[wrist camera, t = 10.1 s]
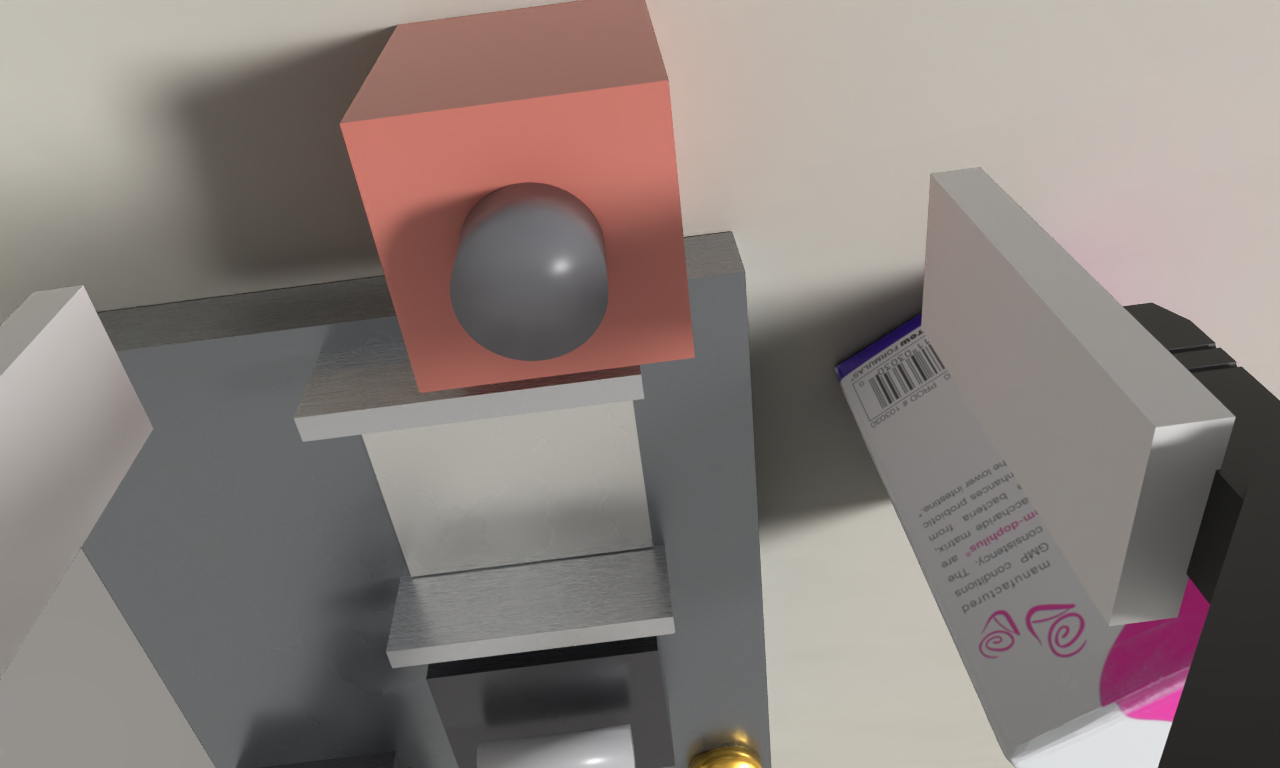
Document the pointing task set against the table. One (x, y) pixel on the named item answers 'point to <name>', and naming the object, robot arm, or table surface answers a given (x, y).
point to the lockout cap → (525, 193)
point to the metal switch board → (438, 537)
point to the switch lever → (562, 750)
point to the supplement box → (1012, 577)
